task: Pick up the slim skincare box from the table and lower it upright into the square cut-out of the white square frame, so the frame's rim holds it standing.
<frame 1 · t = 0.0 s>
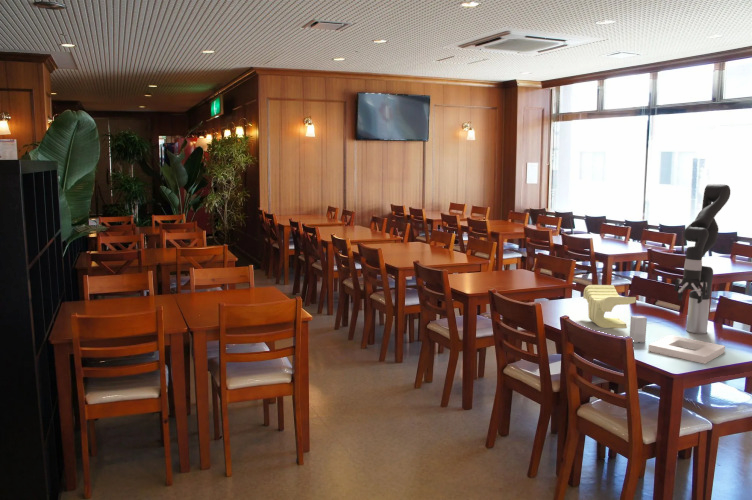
hand: (689, 301, 311), 17 cm above the table, tool pointing down, fingers open, 8 cm apart
slatted curved stool: (606, 324, 334), on the table
white square frame: (686, 351, 288), on the table
skincare box: (637, 342, 303), on the table
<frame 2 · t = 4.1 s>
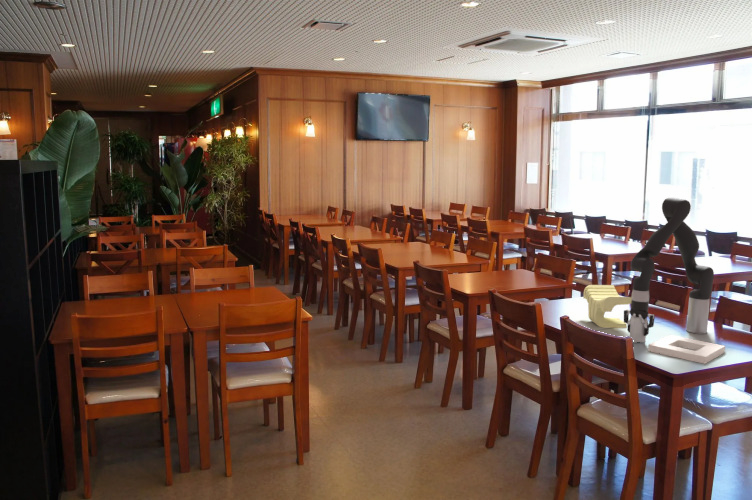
hand: (637, 333, 302), 4 cm above the table, tool pointing down, fingers closed on skincare box, 7 cm apart
skincare box: (637, 342, 303), on the table, touching gripper
everything else where it was.
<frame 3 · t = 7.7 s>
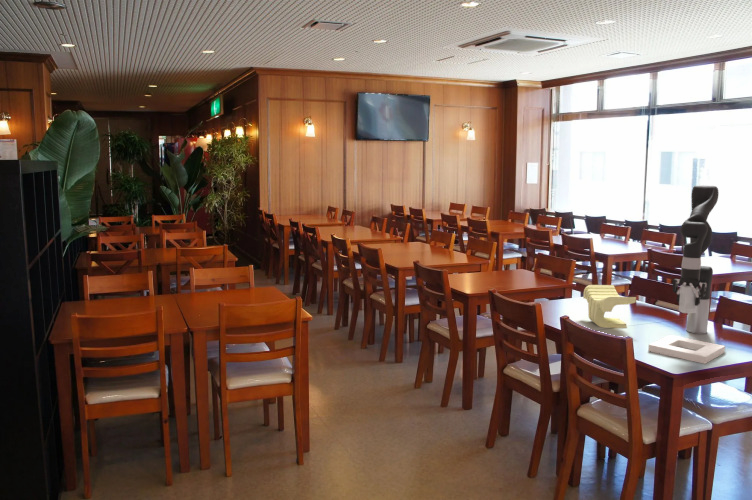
hand: (687, 303, 286), 22 cm above the table, tool pointing down, fingers closed on skincare box, 7 cm apart
skincare box: (687, 312, 286), point 18 cm above the table, touching gripper
everything else where it was.
when the fingers open (5 cm above the table, at t = 11.3 s): skincare box drops 1 cm, resting in white square frame.
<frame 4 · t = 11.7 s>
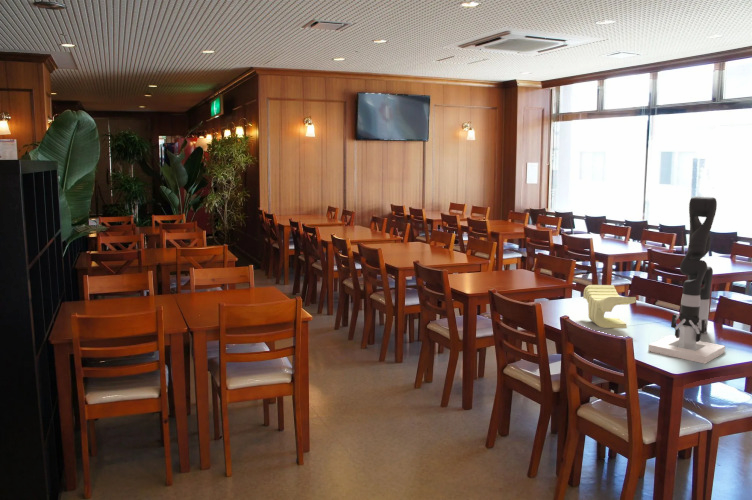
hand: (687, 339, 287), 6 cm above the table, tool pointing down, fingers open, 8 cm apart
skincare box: (686, 352, 288), resting in white square frame
everything else where it was.
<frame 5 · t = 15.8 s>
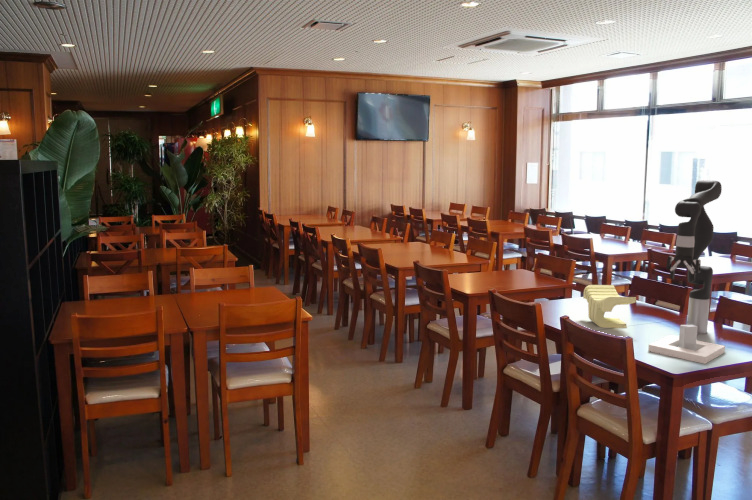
hand: (682, 280, 296), 30 cm above the table, tool pointing down, fingers open, 8 cm apart
nothing on the table moved.
at the end: skincare box 0.1 cm off-centre on the white square frame, point 0.0 cm above the white square frame's base; skincare box tilted 0°; the gripper is holding nothing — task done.
